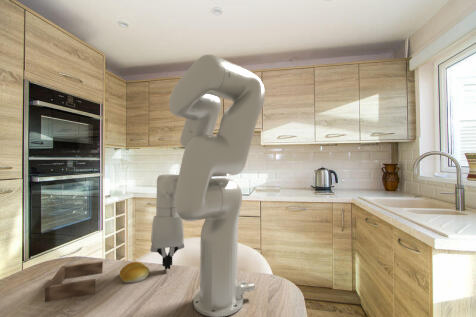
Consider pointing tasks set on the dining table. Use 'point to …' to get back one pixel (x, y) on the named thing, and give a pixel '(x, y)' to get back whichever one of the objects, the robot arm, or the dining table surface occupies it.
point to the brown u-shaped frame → (74, 288)
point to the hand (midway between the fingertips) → (167, 267)
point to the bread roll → (134, 272)
